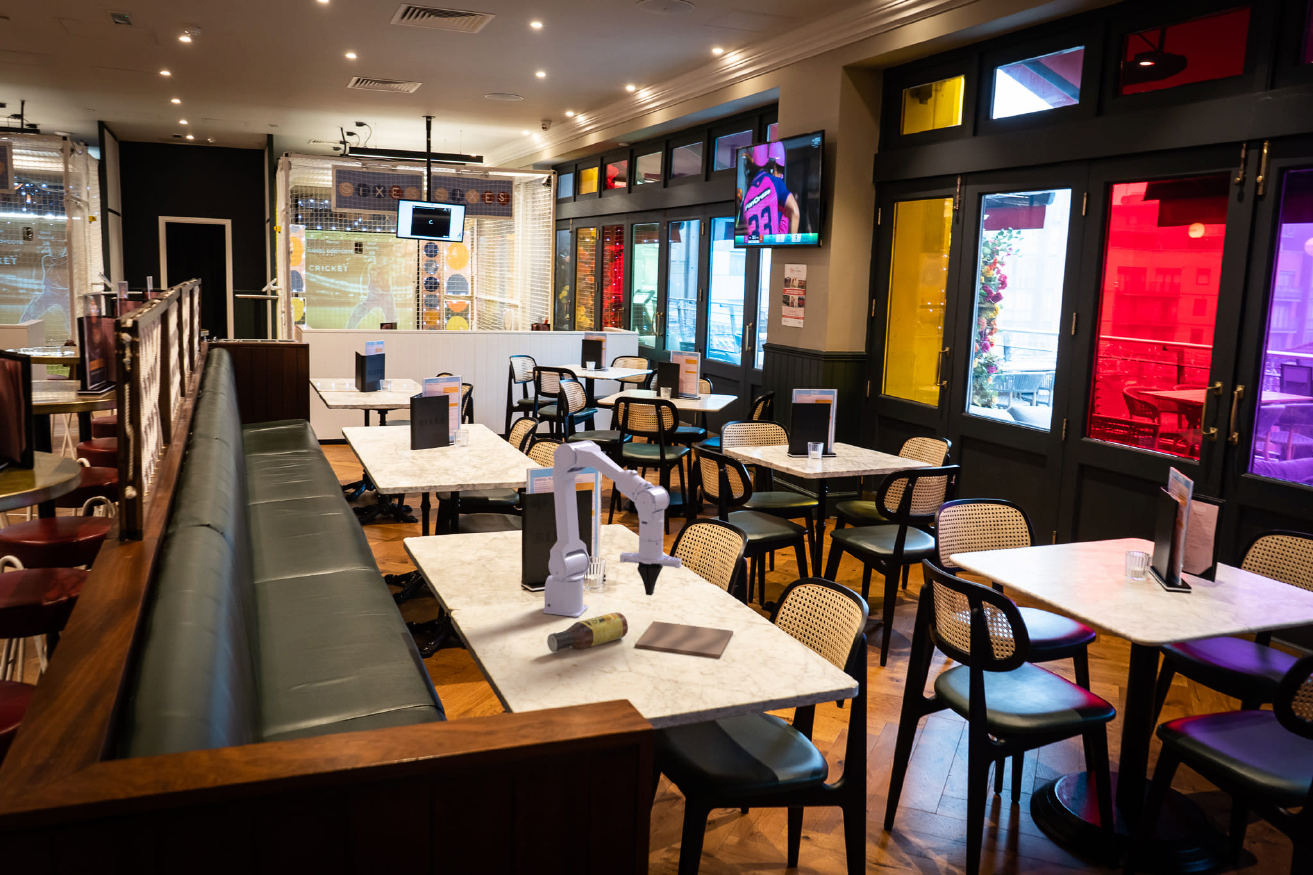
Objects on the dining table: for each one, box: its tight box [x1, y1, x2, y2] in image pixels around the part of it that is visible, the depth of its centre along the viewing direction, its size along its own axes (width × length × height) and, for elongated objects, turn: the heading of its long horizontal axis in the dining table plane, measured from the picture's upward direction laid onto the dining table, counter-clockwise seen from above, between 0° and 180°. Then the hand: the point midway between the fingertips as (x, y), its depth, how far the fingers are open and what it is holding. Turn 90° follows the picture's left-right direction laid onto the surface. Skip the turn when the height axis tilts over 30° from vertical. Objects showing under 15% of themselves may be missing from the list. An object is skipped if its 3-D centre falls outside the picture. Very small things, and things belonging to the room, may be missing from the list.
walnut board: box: [634, 620, 734, 659], centre depth 221 cm, size 20×16×1 cm
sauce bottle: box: [546, 612, 629, 653], centre depth 216 cm, size 7×6×20 cm
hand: (649, 593), depth 222 cm, fingers closed
